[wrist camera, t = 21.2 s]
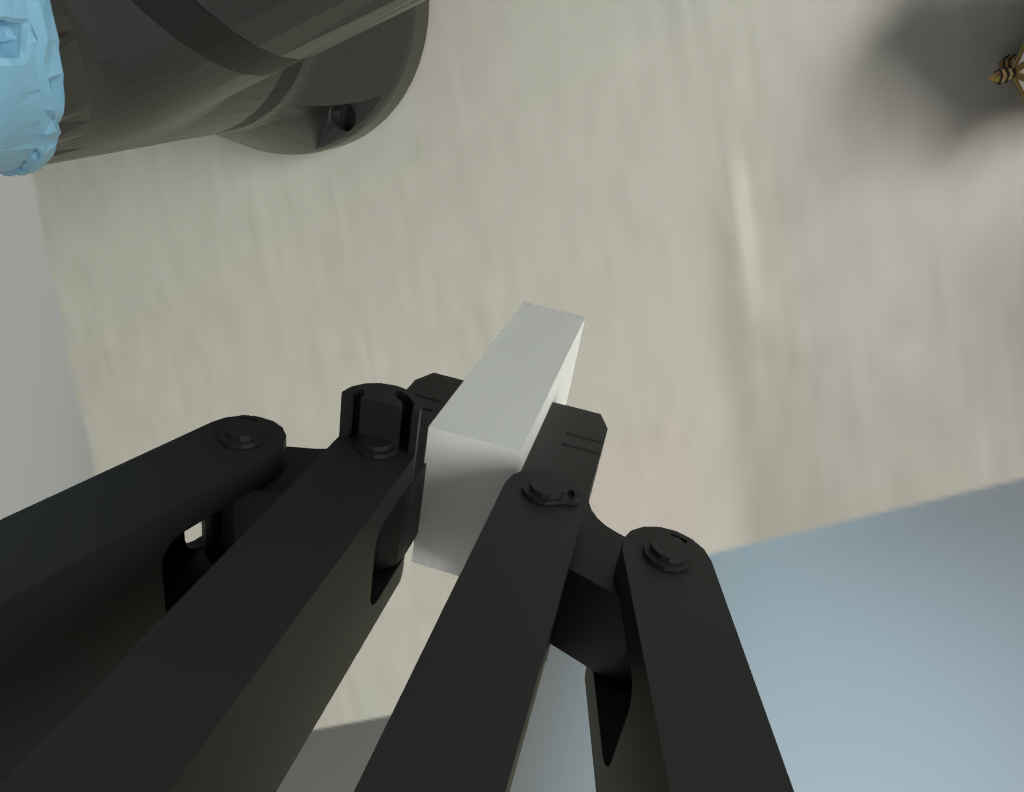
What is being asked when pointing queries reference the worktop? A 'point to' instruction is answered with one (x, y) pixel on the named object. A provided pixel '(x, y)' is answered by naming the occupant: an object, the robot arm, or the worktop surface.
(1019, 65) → the game die
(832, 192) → the worktop surface
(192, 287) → the worktop surface
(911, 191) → the worktop surface
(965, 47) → the worktop surface
